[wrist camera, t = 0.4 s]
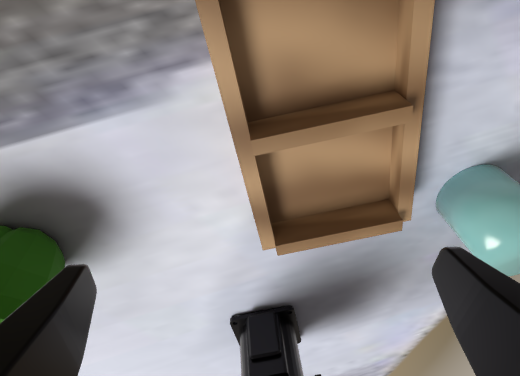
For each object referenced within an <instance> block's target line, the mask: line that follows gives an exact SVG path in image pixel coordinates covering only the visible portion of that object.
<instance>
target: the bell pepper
mask: <svg viewBox="0 0 520 376" xmlns="http://www.w3.org/2000/svg"><path fill="white" fill-rule="evenodd" d="M64 267H65V259H64V256H63V253H62V251H61V250H60V248H59V246H58V245H57V243H56V241H55V240H53V239H52V238H50V237H49V236H48V235H46V234H45V233H43V232H42V231H40V230H37V229H30V228H23V227H21V228H18V229H14V230H13V229H11V228H9V227H6V226H1V225H0V323H1V322H2V321H4V320H5V319H6V318H7V317H8V316H9V315H10V314H12V313H13V312H14V311H15V310H16V309H17V308H19V307H20V306H21V305H22V304H23V303H24V302H26V301H27V300H28V299H29V298H30V297H31V296H33V295H34V294H35V293H36V292H37V291H38V290H39V289H41V288H42V287H43V286H44V285H45V284H46V283H48V282H49V281H50V280H51V279H52V278H53V277H55V276H56V275H57V274H58V273H59V272H60V271H61V270H63V269H64Z"/></svg>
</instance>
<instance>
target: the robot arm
mask: <svg viewBox="0 0 520 376" xmlns="http://www.w3.org/2000/svg"><path fill="white" fill-rule="evenodd" d="M432 276H433V279H434V282H435V285H436V287H437V290H438V292H439V295H440V298H441V300H442V303H443V305H444V308H445V310H446V313H447V316H448V318H449V321H450V323H451V325H452V328H453V330H454V332H455V335H456V337H457V339H458V341H459V343H460V345H461V347H462V349H463V351H464V353H465V355H466V356H467V359H468V361H469V363H470V365H471V367H472V369H473V370H474V373H475V375H476V376H520V283H518V282H516V281H515V280H513V279H512V278H510V277H508V276H507V275H505V274H503V273H502V272H500V271H498V270H497V269H495V268H494V267H492V266H490V265H489V264H487V263H485V262H484V261H482V260H480V259H479V258H477V257H476V256H474V255H472V254H471V253H469V252H467V251H466V250H464V249H462V248H460V247H445V248H443V249H441V251H440V253H439V255H438V257H437V259H436V261H435V263H434V265H433V268H432ZM96 293H97V289H96V285H95V282H94V279H93V277H92V274H91V272H90V269H89V267H88V266H87V265H85V264H78V265H68V266H67V267H65V268H64V269H63V270H61V271H60V272H59V273H58V274H57V275H56V276H55V277H53V278H52V279H51V280H50V281H49V282H48V283H46V284H45V285H44V286H43V287H42V288H41V289H39V290H38V291H37V292H36V293H35V294H34V295H33V296H31V297H30V298H29V299H28V300H27V301H26V302H24V303H23V304H22V305H21V306H20V307H19V308H17V309H16V310H15V311H14V312H13V313H12V314H10V315H9V316H8V317H7V318H6V319H5V320H4V321H2V322H1V323H0V376H78V373H79V369H80V366H81V363H82V359H83V356H84V351H85V347H86V342H87V338H88V333H89V328H90V323H91V318H92V314H93V309H94V304H95V299H96ZM230 325H231V327H232V329H233V332H234V334H235V336H236V338H237V341H238V343H239V345H240V353H241V376H303V371H302V366H301V361H300V355H299V350H298V345H297V344H298V343H300V342H301V338H300V333H299V329H298V324H297V320H296V315H295V311H294V307H292V306H286V307H281V308H276V309H271V310H266V311H261V312H256V313H251V314H246V315H241V316H236V317H232V318H231V319H230ZM315 376H321V374H318V375H315Z"/></svg>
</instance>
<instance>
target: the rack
mask: <svg viewBox="0 0 520 376" xmlns="http://www.w3.org/2000/svg"><path fill="white" fill-rule="evenodd" d="M195 2H196V5H197V9H198V13H199V16H200V20H201V24H202V28H203V31H204V35H205V39H206V42H207V46H208V50H209V53H210V57H211V61H212V64H213V68H214V72H215V75H216V79H217V83H218V86H219V90H220V94H221V97H222V101H223V105H224V109H225V112H226V116H227V120H228V123H229V127H230V131H231V134H232V138H233V142H234V145H235V149H236V153H237V156H238V160H239V164H240V167H241V171H242V175H243V178H244V182H245V186H246V190H247V193H248V197H249V201H250V204H251V208H252V212H253V215H254V219H255V223H256V226H257V230H258V234H259V237H260V241H261V245H262V248H263V250H267V249H272V248H276V251H277V255H278V256H279V255H284V254H289V253H293V252H298V251H303V250H308V249H313V248H318V247H323V246H328V245H333V244H338V243H343V242H348V241H353V240H358V239H363V238H367V237H372V236H377V235H382V234H387V233H392V232H397V231H402V225H403V222H404V221H409V220H411V214H412V205H413V196H414V187H415V177H416V168H417V159H418V150H419V141H420V132H421V123H422V113H423V104H424V95H425V86H426V77H427V68H428V59H429V49H430V40H431V31H432V22H433V13H434V4H435V0H195Z"/></svg>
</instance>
